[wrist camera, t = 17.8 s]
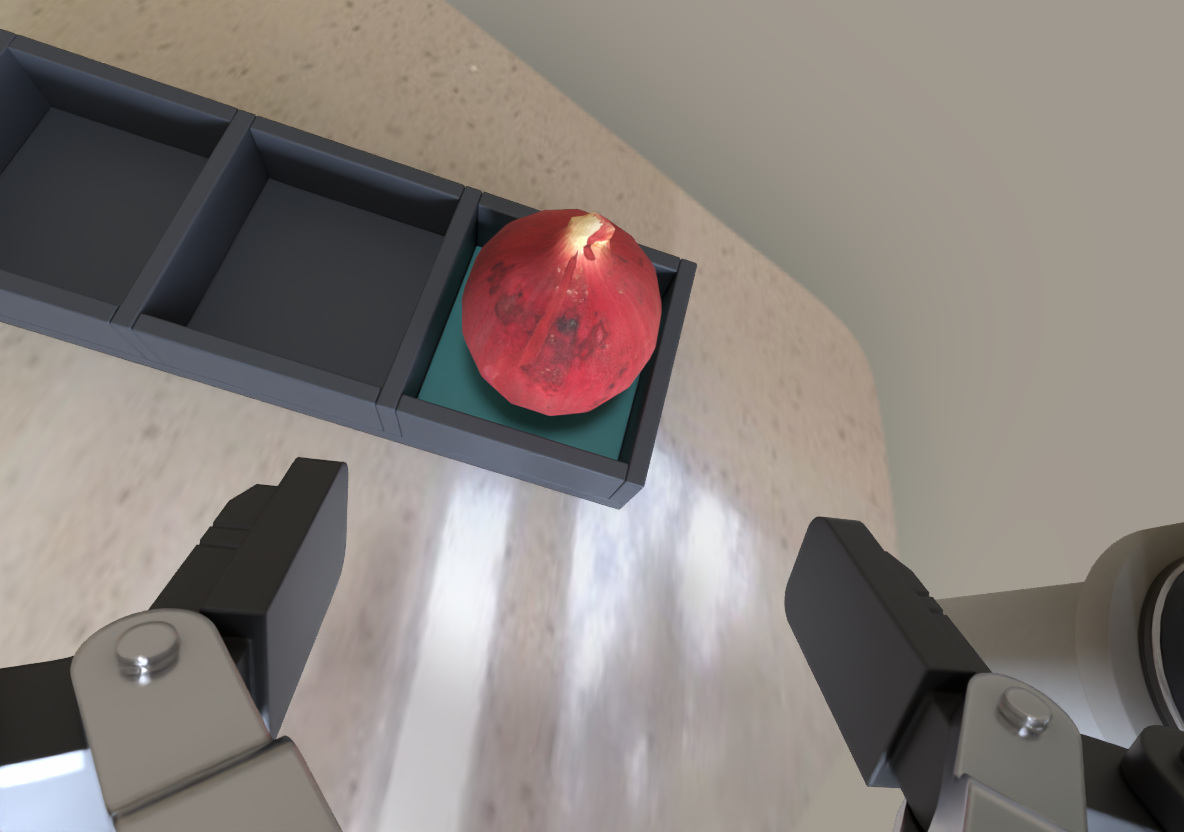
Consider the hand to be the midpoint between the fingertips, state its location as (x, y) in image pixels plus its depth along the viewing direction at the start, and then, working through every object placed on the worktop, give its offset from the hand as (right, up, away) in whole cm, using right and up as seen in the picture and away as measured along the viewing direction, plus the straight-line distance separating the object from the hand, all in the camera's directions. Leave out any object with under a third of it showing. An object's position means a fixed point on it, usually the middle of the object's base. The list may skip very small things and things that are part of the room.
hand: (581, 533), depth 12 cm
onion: (-1, +4, +12) cm, 13 cm away
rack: (-9, +6, +12) cm, 16 cm away
